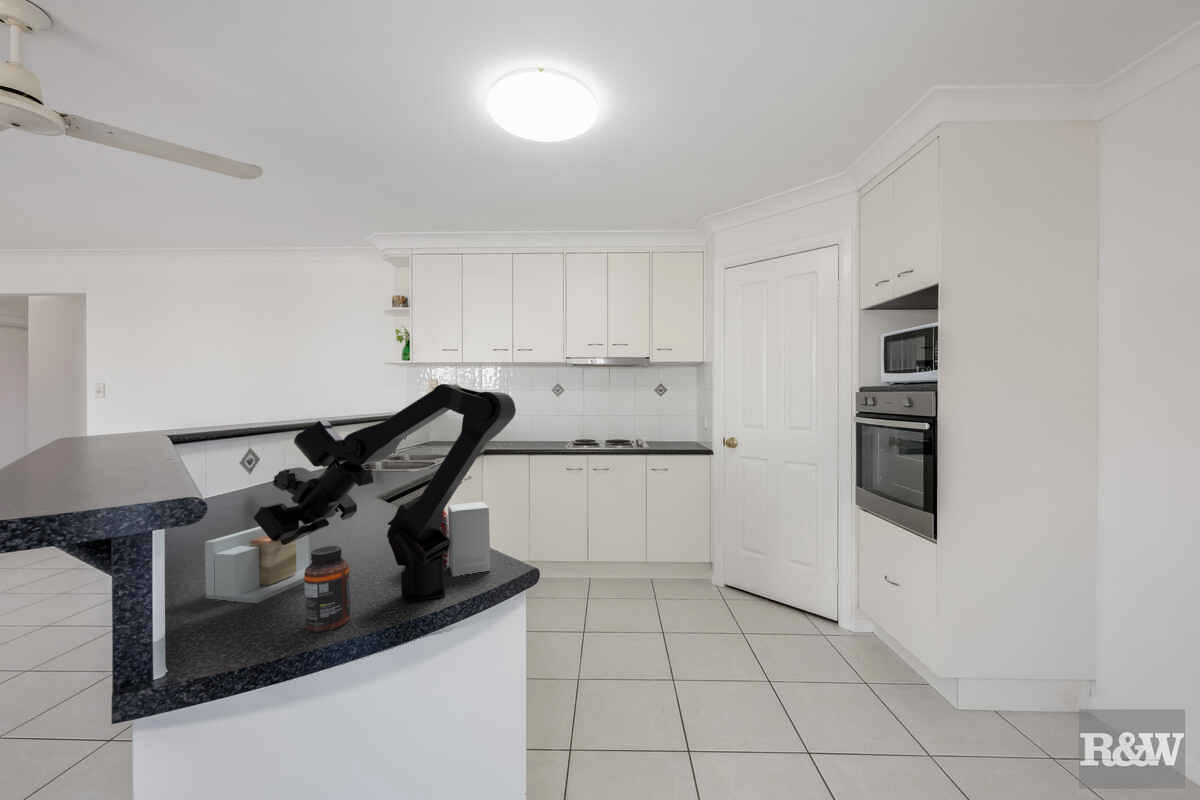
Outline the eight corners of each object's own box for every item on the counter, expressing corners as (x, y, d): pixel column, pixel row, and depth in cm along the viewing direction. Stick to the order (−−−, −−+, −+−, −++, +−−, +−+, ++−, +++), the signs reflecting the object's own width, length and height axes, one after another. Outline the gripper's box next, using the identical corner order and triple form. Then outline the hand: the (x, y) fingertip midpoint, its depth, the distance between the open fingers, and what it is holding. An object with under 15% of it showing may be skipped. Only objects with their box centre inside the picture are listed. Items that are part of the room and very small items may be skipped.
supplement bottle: (340, 612, 77) (339, 541, 78) (357, 622, 74) (356, 547, 74) (298, 626, 73) (297, 550, 73) (314, 637, 69) (313, 557, 69)
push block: (296, 573, 93) (295, 532, 93) (269, 584, 87) (268, 541, 88) (279, 572, 94) (278, 531, 94) (250, 583, 88) (250, 540, 88)
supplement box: (491, 572, 95) (489, 507, 95) (451, 577, 92) (450, 511, 92) (485, 561, 102) (484, 500, 102) (448, 566, 99) (447, 504, 99)
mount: (328, 571, 98) (327, 521, 98) (256, 603, 82) (256, 543, 82) (283, 568, 100) (283, 520, 100) (205, 599, 84) (205, 541, 84)
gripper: (343, 448, 99) (298, 501, 101) (262, 459, 80) (208, 523, 83) (378, 488, 97) (331, 541, 99) (303, 508, 79) (247, 572, 81)
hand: (283, 542), depth 90 cm, fingers closed, pressing on push block
